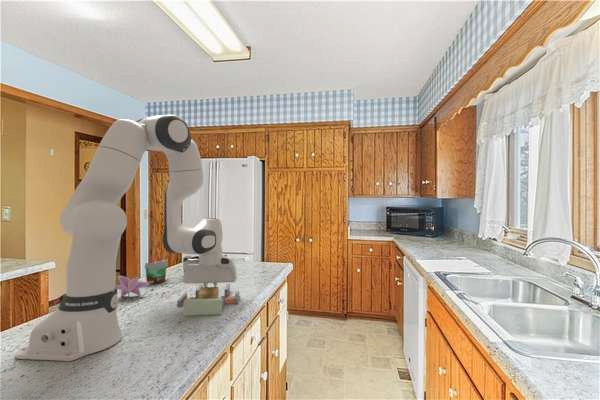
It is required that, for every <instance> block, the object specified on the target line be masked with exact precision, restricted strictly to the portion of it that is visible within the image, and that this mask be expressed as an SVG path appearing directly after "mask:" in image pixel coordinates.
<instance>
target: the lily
mask: <svg viewBox="0 0 600 400" xmlns="http://www.w3.org/2000/svg"><path fill="white" fill-rule="evenodd" d="M117 277H118V280H119V283H120V284H118V285H117V284H116V285H115V286H116V287H117V290H120V296H121V297H124V296H126V295H127V302H130V293H132V294H134V295H137V296H141V291H140V289H141V288H143V287H147V286H151V285H150V284H149V283H147V281H140V277H139V276H135V277H133V278H129V277H126V276H124V275H118V276H117Z"/></svg>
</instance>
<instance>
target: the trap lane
mask: <svg viewBox="0 0 600 400" xmlns="http://www.w3.org/2000/svg"><path fill="white" fill-rule="evenodd" d="M230 285H231V284H230V283H226V285H225V287H224V295H221V297H220V298H218V299H198V294H199V292H200V291H201V289H202V288H203V287H204V286H203V284H199V285H198V287H197V288H196V289H195V296H190V297H188V292H183V293H182V295H180V297H178V299H177V304H176V305H177V307H182V306H183V316H210V315H222V313H223V311H224V308H225V305H229V304H230V305H233V304H234V305H238V302H239V299H240V291H238V290H237V291H236V292H235V294H234V295H229V294H230V292H231V291H230V289H231V287H230Z"/></svg>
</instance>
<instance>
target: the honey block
mask: <svg viewBox="0 0 600 400" xmlns="http://www.w3.org/2000/svg"><path fill="white" fill-rule="evenodd" d="M219 289H220V288H219V286H216V287H214V286H208V287H204V286H203V288H202V289H201V291H200V292H199V294H198V298H197V299H219Z"/></svg>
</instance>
